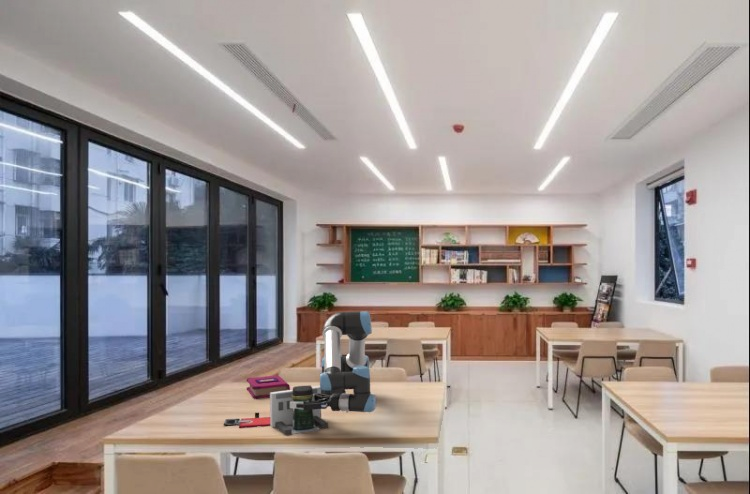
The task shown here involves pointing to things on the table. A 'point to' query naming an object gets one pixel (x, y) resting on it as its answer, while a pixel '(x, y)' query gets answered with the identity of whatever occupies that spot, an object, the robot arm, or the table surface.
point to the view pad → (303, 430)
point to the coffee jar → (300, 416)
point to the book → (266, 386)
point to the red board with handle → (249, 421)
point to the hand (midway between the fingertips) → (295, 401)
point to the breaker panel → (286, 406)
